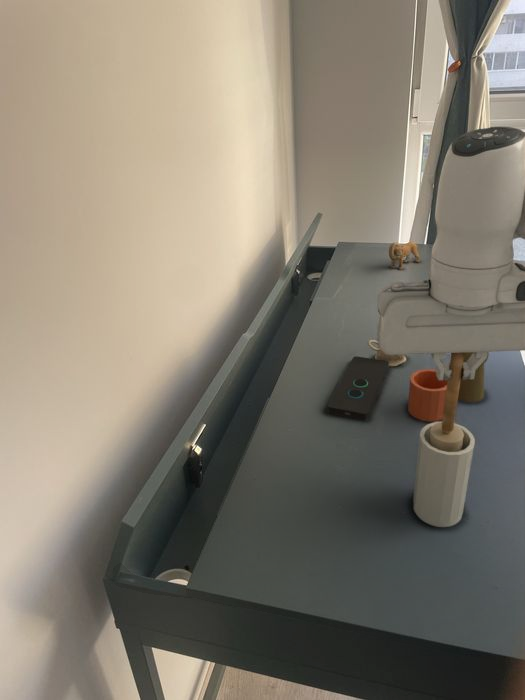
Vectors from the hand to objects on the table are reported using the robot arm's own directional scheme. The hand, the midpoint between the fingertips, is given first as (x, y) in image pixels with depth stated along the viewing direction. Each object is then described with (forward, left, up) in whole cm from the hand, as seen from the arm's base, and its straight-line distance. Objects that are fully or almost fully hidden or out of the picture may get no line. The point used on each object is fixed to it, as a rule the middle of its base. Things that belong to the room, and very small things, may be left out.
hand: (454, 377), depth 69 cm
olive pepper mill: (-13, -30, -24) cm, 41 cm away
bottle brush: (0, 0, -16) cm, 16 cm away
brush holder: (-4, -25, -24) cm, 35 cm away
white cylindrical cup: (0, 0, -24) cm, 24 cm away
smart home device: (+8, -33, -24) cm, 42 cm away
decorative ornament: (+1, -43, -24) cm, 50 cm away
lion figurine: (-13, -100, -24) cm, 104 cm away
